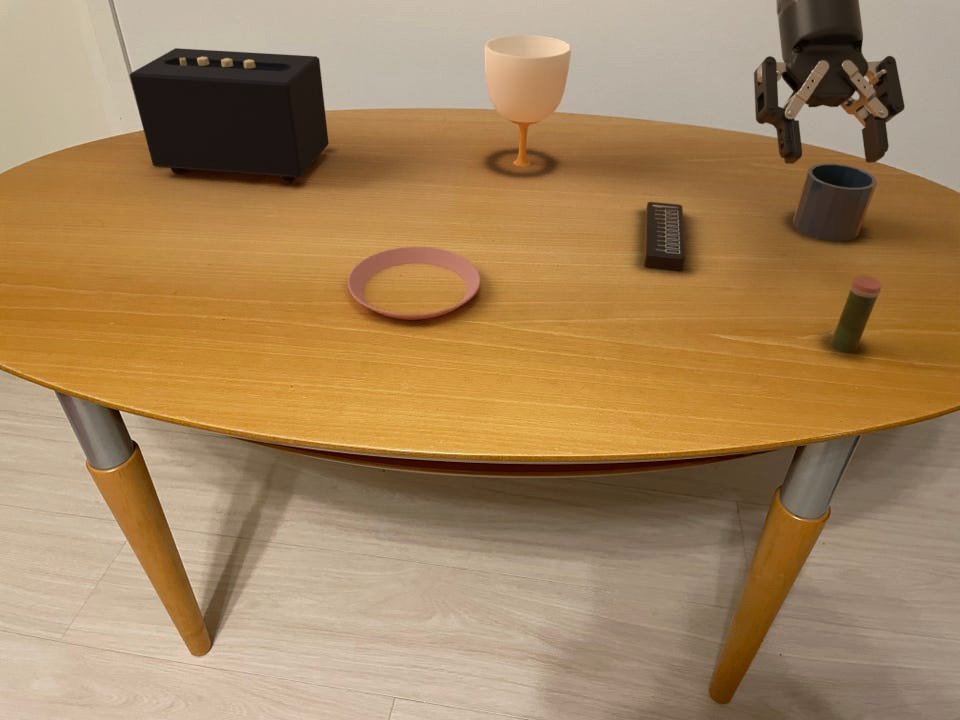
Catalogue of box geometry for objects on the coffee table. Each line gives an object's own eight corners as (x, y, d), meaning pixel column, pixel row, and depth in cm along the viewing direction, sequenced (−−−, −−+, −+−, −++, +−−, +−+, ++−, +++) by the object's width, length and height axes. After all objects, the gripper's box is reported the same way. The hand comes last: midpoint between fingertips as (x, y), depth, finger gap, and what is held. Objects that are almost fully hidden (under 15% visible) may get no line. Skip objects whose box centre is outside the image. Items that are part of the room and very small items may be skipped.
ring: (492, 323, 77) (493, 307, 76) (353, 337, 74) (352, 321, 73) (467, 256, 88) (467, 241, 87) (345, 267, 86) (343, 251, 84)
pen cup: (854, 223, 97) (874, 168, 92) (858, 250, 91) (879, 193, 86) (791, 213, 99) (807, 159, 94) (791, 239, 93) (808, 183, 88)
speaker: (330, 154, 113) (319, 50, 103) (302, 188, 102) (286, 77, 93) (195, 144, 115) (173, 41, 106) (154, 177, 105) (126, 67, 96)
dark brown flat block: (643, 272, 86) (645, 254, 84) (644, 217, 97) (647, 200, 96) (681, 276, 85) (685, 258, 84) (679, 220, 96) (682, 204, 95)
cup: (550, 188, 104) (561, 61, 94) (471, 176, 107) (472, 52, 96) (569, 157, 113) (580, 39, 103) (495, 147, 116) (498, 31, 105)
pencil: (854, 346, 75) (881, 277, 70) (855, 360, 73) (883, 291, 68) (827, 341, 75) (853, 273, 70) (828, 355, 73) (854, 286, 69)
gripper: (767, -14, 72) (784, 145, 69) (906, -14, 73) (928, 143, 71) (734, 30, 79) (749, 176, 77) (862, 30, 80) (880, 173, 78)
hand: (835, 160), depth 74 cm, fingers open, 8 cm apart
